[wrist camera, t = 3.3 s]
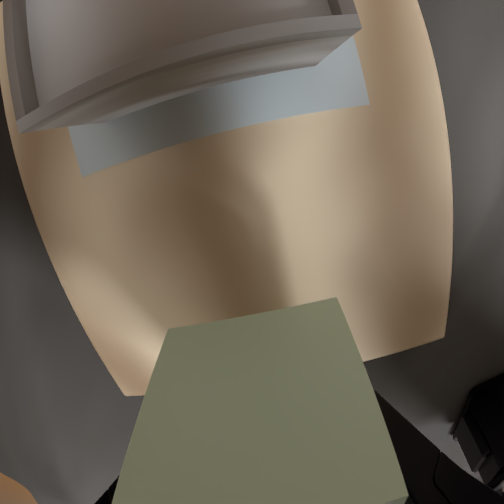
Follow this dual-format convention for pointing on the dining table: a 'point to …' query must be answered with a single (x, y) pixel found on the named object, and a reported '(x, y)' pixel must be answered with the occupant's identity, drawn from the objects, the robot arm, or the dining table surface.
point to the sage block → (261, 417)
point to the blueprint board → (232, 164)
